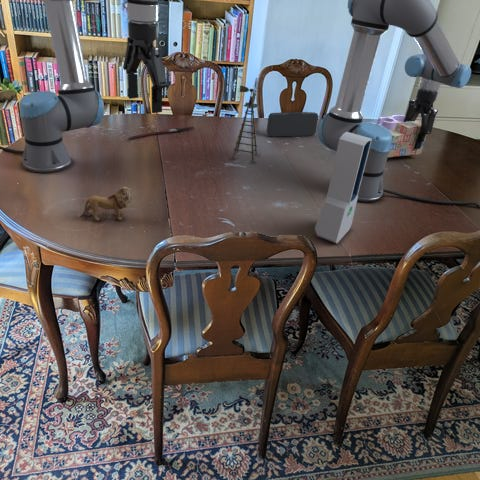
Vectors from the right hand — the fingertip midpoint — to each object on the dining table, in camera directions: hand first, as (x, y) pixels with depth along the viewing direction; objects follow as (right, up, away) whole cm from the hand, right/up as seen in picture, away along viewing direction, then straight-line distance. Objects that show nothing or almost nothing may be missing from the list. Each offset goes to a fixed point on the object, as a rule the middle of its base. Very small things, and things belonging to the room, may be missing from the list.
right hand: (411, 145), depth 194 cm
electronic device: (-44, -37, -56) cm, 80 cm away
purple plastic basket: (+2, +11, +26) cm, 28 cm away
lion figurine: (-109, -33, -60) cm, 129 cm away
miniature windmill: (-70, -7, -14) cm, 71 cm away
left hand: (-98, -2, -65) cm, 117 cm away
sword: (-104, +4, -2) cm, 104 cm away
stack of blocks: (-7, -4, -1) cm, 8 cm away
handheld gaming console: (-49, +7, +11) cm, 51 cm away
